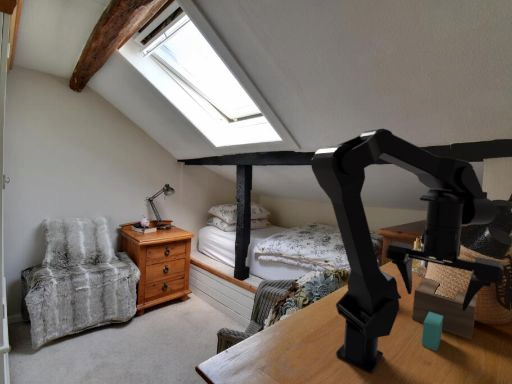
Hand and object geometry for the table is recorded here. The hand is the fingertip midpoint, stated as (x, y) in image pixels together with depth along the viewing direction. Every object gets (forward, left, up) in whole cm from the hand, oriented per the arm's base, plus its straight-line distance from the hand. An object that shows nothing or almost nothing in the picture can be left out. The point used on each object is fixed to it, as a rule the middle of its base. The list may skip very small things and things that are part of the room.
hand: (435, 301), depth 55 cm
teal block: (0, 0, -9) cm, 9 cm away
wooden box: (+13, -1, -9) cm, 15 cm away
